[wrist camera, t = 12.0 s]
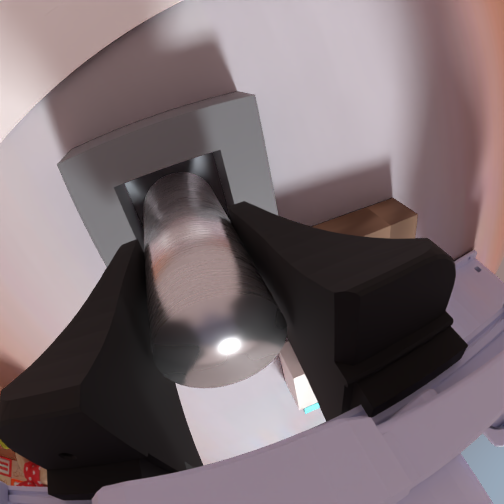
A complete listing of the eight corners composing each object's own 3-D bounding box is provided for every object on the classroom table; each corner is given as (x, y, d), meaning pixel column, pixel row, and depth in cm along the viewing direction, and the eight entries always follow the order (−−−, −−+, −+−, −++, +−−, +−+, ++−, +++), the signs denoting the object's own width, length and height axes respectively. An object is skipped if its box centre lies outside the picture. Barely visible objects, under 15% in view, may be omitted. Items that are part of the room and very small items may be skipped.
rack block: (237, 91, 13) (254, 94, 11) (268, 234, 17) (285, 258, 15) (71, 149, 12) (56, 164, 10) (133, 282, 16) (133, 312, 14)
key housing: (334, 321, 24) (354, 350, 21) (334, 360, 27) (350, 386, 25) (276, 345, 23) (293, 378, 21) (285, 381, 27) (299, 410, 24)
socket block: (393, 197, 19) (417, 214, 17) (384, 293, 24) (402, 312, 22) (269, 241, 18) (286, 266, 16) (288, 337, 23) (301, 361, 21)
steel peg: (205, 162, 13) (277, 273, 6) (223, 225, 14) (293, 360, 8) (132, 187, 12) (127, 327, 6) (158, 248, 14) (183, 400, 8)
